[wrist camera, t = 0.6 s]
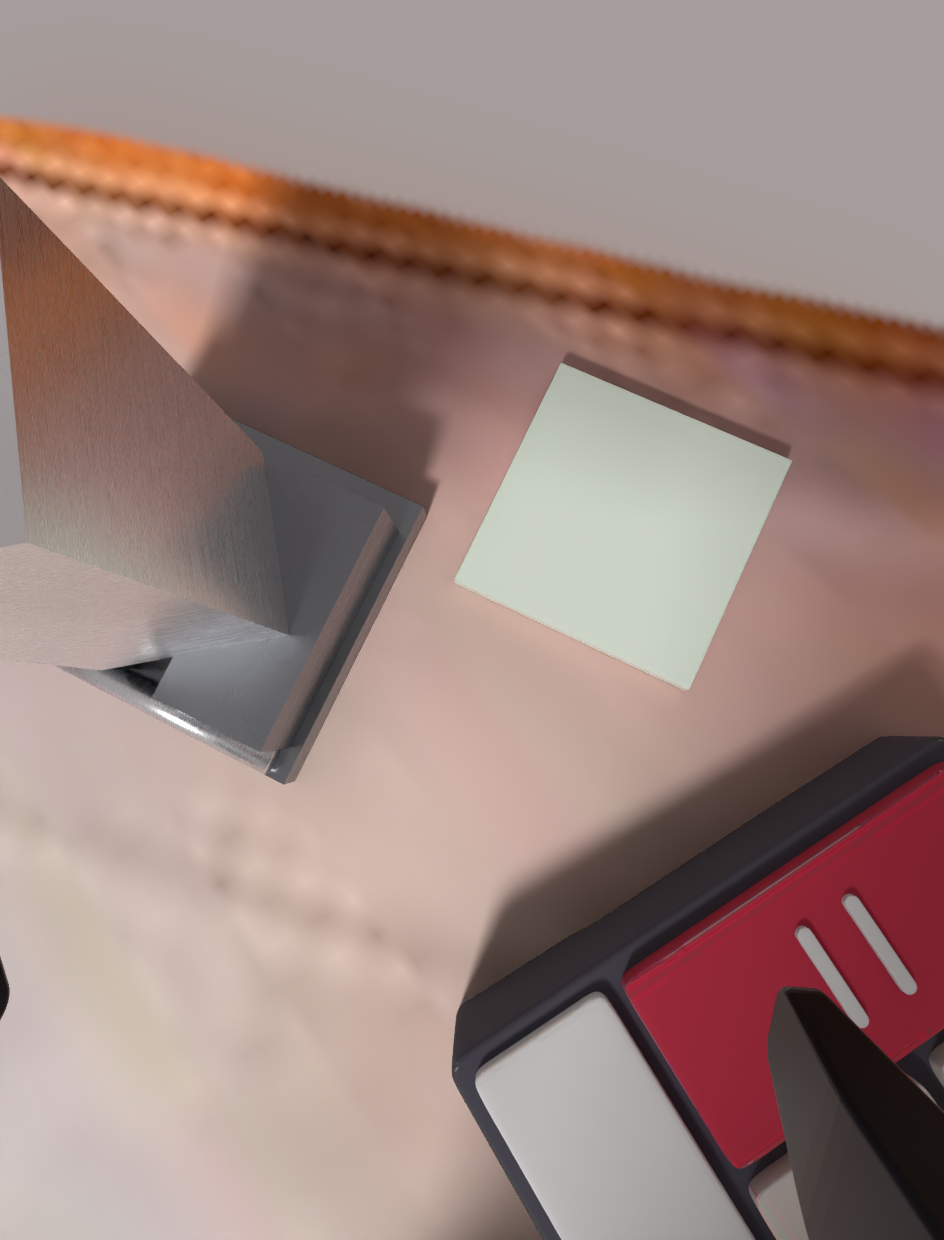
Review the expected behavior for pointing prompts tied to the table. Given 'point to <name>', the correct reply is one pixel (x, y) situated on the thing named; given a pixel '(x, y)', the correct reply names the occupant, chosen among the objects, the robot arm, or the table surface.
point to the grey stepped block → (116, 480)
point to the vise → (316, 616)
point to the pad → (624, 525)
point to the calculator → (715, 1011)
